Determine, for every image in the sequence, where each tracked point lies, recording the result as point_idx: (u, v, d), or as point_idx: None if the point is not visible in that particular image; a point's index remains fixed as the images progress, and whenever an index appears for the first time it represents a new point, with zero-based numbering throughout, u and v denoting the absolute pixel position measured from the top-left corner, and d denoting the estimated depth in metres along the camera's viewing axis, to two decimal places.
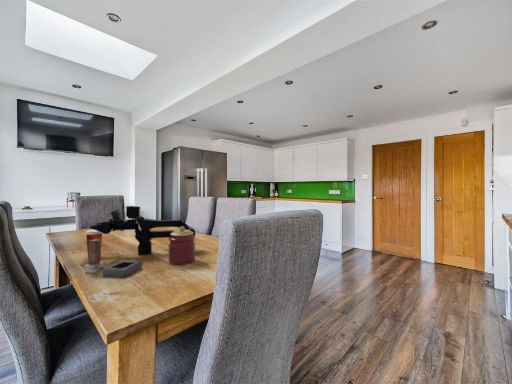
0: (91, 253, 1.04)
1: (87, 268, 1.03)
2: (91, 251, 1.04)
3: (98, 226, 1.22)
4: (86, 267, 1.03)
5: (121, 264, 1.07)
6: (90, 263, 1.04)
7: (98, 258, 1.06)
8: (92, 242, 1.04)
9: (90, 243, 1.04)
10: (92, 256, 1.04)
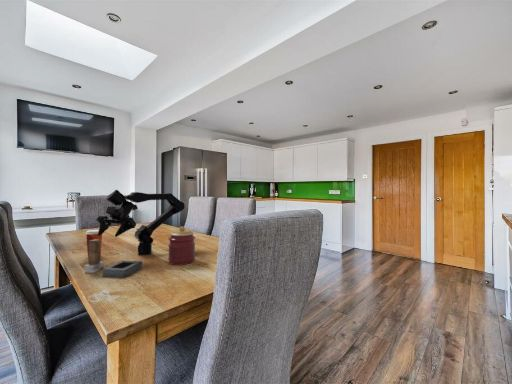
0: (91, 253, 1.04)
1: (87, 268, 1.03)
2: (91, 251, 1.04)
3: (122, 229, 1.15)
4: (86, 267, 1.03)
5: (121, 264, 1.07)
6: (90, 263, 1.04)
7: (98, 258, 1.06)
8: (92, 242, 1.04)
9: (90, 243, 1.04)
10: (92, 256, 1.04)
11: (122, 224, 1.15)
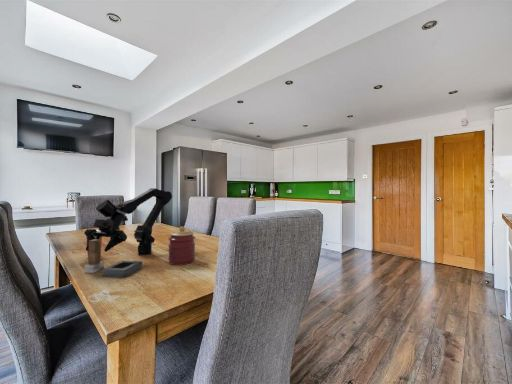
0: (91, 253, 1.04)
1: (87, 268, 1.03)
2: (91, 251, 1.04)
3: (111, 243, 1.08)
4: (86, 267, 1.03)
5: (121, 264, 1.07)
6: (90, 263, 1.04)
7: (98, 258, 1.06)
8: (92, 242, 1.04)
9: (90, 243, 1.04)
10: (92, 256, 1.04)
11: (112, 238, 1.08)
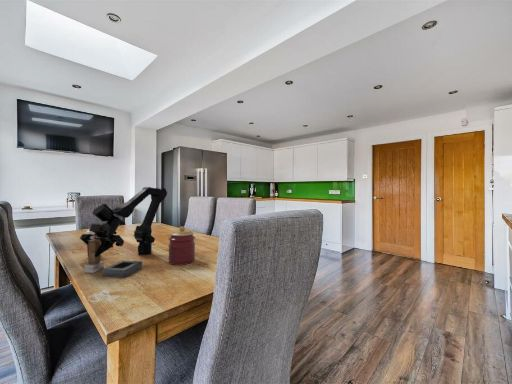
0: (91, 253, 1.04)
1: (87, 268, 1.03)
2: (91, 251, 1.04)
3: (102, 248, 1.06)
4: (86, 267, 1.03)
5: (121, 264, 1.07)
6: (90, 263, 1.04)
7: (98, 258, 1.06)
8: (92, 242, 1.04)
9: (90, 243, 1.04)
10: (92, 256, 1.04)
11: (102, 243, 1.06)
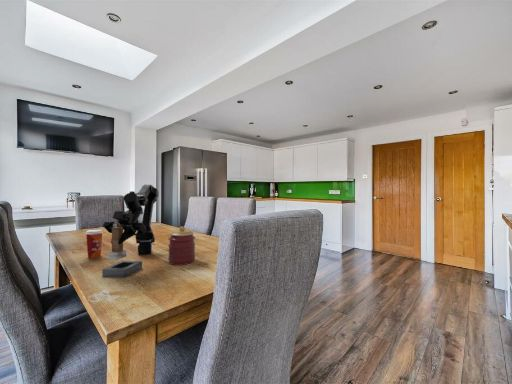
0: (114, 240, 1.02)
1: (110, 255, 1.01)
2: (114, 238, 1.02)
3: (125, 235, 1.05)
4: (109, 254, 1.01)
5: (121, 264, 1.07)
6: (113, 250, 1.03)
7: (121, 246, 1.04)
8: (115, 229, 1.02)
9: (113, 230, 1.02)
10: (115, 244, 1.02)
11: (125, 230, 1.05)
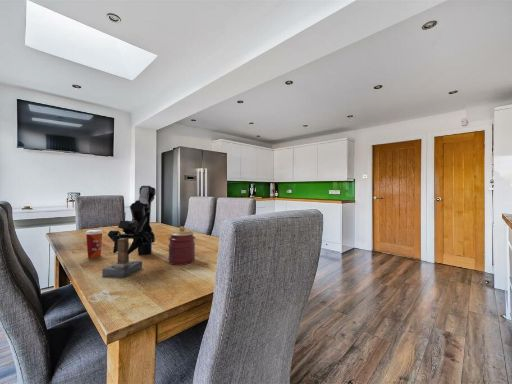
0: (120, 252, 1.02)
1: (116, 267, 1.01)
2: (120, 250, 1.02)
3: (134, 245, 1.04)
4: (115, 266, 1.01)
5: None
6: (119, 262, 1.02)
7: (127, 257, 1.04)
8: (121, 241, 1.02)
9: (119, 242, 1.02)
10: (121, 255, 1.02)
11: (134, 240, 1.04)
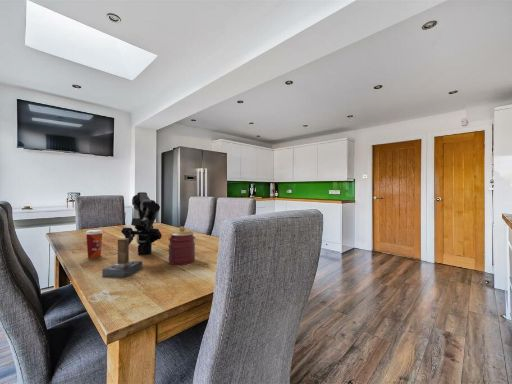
0: (120, 252, 1.02)
1: (116, 267, 1.01)
2: (120, 250, 1.02)
3: (148, 241, 1.13)
4: (115, 266, 1.01)
5: None
6: (119, 262, 1.02)
7: (127, 257, 1.04)
8: (121, 241, 1.02)
9: (119, 242, 1.02)
10: (121, 255, 1.02)
11: (148, 236, 1.13)
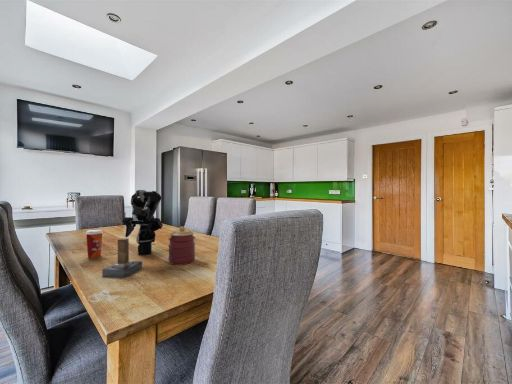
0: (120, 252, 1.02)
1: (116, 267, 1.01)
2: (120, 250, 1.02)
3: (149, 230, 1.14)
4: (115, 266, 1.01)
5: None
6: (119, 262, 1.02)
7: (127, 257, 1.04)
8: (121, 241, 1.02)
9: (119, 242, 1.02)
10: (121, 255, 1.02)
11: (150, 225, 1.14)
